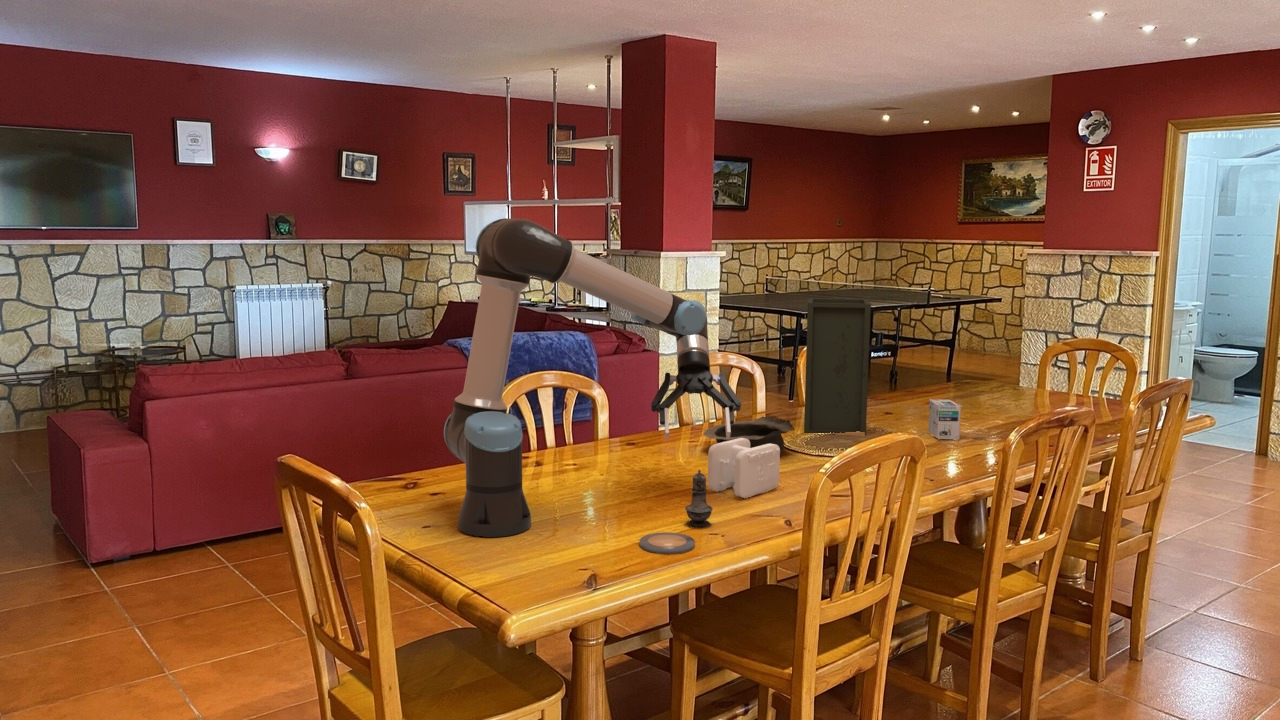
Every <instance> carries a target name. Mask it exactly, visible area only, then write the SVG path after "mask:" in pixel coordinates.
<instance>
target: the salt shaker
mask: <svg viewBox="0 0 1280 720" xmlns="http://www.w3.org/2000/svg"><path fill="white" fill-rule="evenodd" d="M708 491H709V490H708V489H707V476H706V475H705V474H704V473H702V470H700V469H698V471H697V473H695V474H694V475H693V476H692V488H691V489H690V492H691V502H690V504H689V505H686V506H685V507H684V509H685V510H686V515H687V517H688V518H689V519H690V520H688V521H687V522H686V523H685V524H686V526H687V527H689V528H692V529H706V528H710V527H711V526H712V523H711V522H710V521H708V519H709V518H710V517H711V515H712V511H713V510H714V508H713V507H712V506H711V505H708V502H707V493H708ZM709 526H710V527H709Z"/></svg>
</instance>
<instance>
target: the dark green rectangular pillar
mask: <svg viewBox="0 0 1280 720" xmlns="http://www.w3.org/2000/svg"><path fill="white" fill-rule="evenodd" d="M871 310H872V304H871V302H870V301H869V299H856V298H855V299H852V298H850V299H849V298H848V299H847V298H845V299H844V298H808V299H807V318H806V319H807V320H806V348H805V350H806V352H805V353H806V354H805V355H806V357H805V358H806V359H805V381H804V382H805V387H804V414H803V415H804V418H803V419H804V420H803V421H804V422H803V434H804V433H830V432H831V433H833V432H834V433H840V432H841V433H845V432H856V431H860V432H866V433H867V415H868V414H867V412H868V390H869V389H868V387H869V368H870V367H869V361H870V335H871V313H872V312H871Z"/></svg>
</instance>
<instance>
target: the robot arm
mask: <svg viewBox="0 0 1280 720" xmlns="http://www.w3.org/2000/svg"><path fill="white" fill-rule="evenodd" d="M475 252H476V257H477V259H478V263H477V268H476V275H475V277H476V278H477V279H478V281H479V282H480V285H481V287H480V293H479V297H478V298H479V300H478V304H477V309H476V311H477V312H476V315H475V322H474V327H473V332H472V339H471V344H470V350H469V356H468V362H467V366H466V374H465V381H464V384H463V385H464V386H463V391H462V393H460V394H459V395H458V396H456V397H455V398H454V401H453V408H452V412H451V413H450V414H449V415H448V417H446V418H447V419H446V421H445V423H444V426H443V427H444V428H443V438H444V442H445V445H446V446H447V448H448V449H449V451H450V453H452V455H453V456H454V457H455V458H456V459H458V460H460V461H462V462H463V463H464V464H465V487H466V488H465V495H464V497H463V501H462V504H461V507H460V510H459V514H458V519H457V522H458V524H457V526H458V531H460V532H461V531H462V532H461V533H463V532H464V533H463V534H465V533H466V534H465V535H468V534H469V536H472V535H474V536H473V537H479V536H483V537H482V538H498V537H499V538H500V537H507V536H509V537H510V536H514V535H518V534H521V533H523V532H526V531H527V530H529V529H530V528H531V527H532V514H531V511H530V508H529V504H528V502H527V498H526V496H525V493H524V490H523V439H524V435H523V429H522V423H521V421H520V419H519V418H518V417H517V416H515V415H514V414H512V413H508V406H507V404H506V402H504V400H503V396H504V388H505V385H506V384H505V383H506V376H507V372H508V367H509V362H510V355H511V351H512V350H511V349H512V344H513V343H512V342H513V337H514V333H515V332H514V331H515V326H516V321H517V314H518V309H519V305H520V304H519V303H520V297H521V293H522V291H523V290H525V289H526V288H528V287H529V286H530V280H531V277H534V278H537V279H541V280H543V281H547V282H549V283H551V284H556V283H559V282H560V283H563V284H565V285H567V286H570V287H571V288H574V289H576V290H579V291H580V292H584V293H586V294H588V295H589V296H593V297H595V298H597V299H599V300H601V301H604V302H606V303H608V304H611V305H612V306H615V307H618V308H620V309H622V310H624V311H627V312H629V313H630V316H631V318H632V319H633V320H634V321H636V322H638V323H640V324H641V325H645V326H648V327H650V328H653V329H655V330H658V331H660V332H663V333H666V334H668V335H670V336H672V337H675V341H676V357H677V374H676V375H675V374H674V375H672V374H671V373H670V372H665V374H664V379H663V382H662V384H661V386H660V387H659V389H658V390H657V392H656V394H655V396H654V398H653V399H652V401H651V404H650V405H651V406H650V410H651V412H657V413H658V415H659V424H660V426H662V425H664V439H665V440H669V439H670V438H669V436H670V427H669V426H670V425H669V424H670V423H669V408H671V406H672V405H674V403H676V401H678V399H679V398H681V397H682V396H683V395H684V394H685V393H687V394H689V395H690V394H691V395H692V394H698V395H702V394H703V393H704V394H705V395H707V396H708V397H710V398H711V399H712V400H713V401H714V402H716V404H718V405H719V406H720V407H721V408H722V409H723V410H724V424H725V427H726V439H730V434H731V429H730V424H734V422H735V412H740V411H741V407H742V401H741V400H740V399H739V397H738V395H737V394H736V393H735V391H734V390H733V388H732V387H731V385H730V384H729V383H728V381H727V380H726V376H725V373H724V372H723V371H721V372H719V374H712V372H711V365H710V363H711V361H710V348H709V337H708V336H709V335H708V331H709V330H708V317H707V313H706V312H707V311H706V308H705V306H704V305H703V303H702V302H700V301H697V300H690V299H688V300H687V299H685V298H682V297H680V296H678V295H677V294H673V293H671V292H669V291H667V290H665V289H662V288H661V287H658V286H656V285H654V284H652V283H650V282H647V281H645V280H644V279H641V278H639V277H636V276H635V275H632V274H631V273H628V272H626V271H624V270H622V269H620V268H618V267H616V266H613V265H611V264H609V263H606V262H604V261H603V260H600V259H598V258H596V257H593V256H592V255H590V254H587V253H585V252H583V251H582V250H579V249H578V248H577V249H576V248H575V246H574V243H573V241H571V240H569V239H567V238H564V237H563V236H562V235H561V236H560V235H559V234H557V233H555V232H554V231H551V230H549V229H548V228H546V227H544V226H543V225H541V224H540V223H537V222H534V221H533V220H530V219H526V218H506V217H505V218H499V219H496V220H493V221H491V222H490V223H488V224H486V225H485V226H484V227H483V228H482V229H481V230H480V231H479V234H478V236H477V238H476V242H475ZM674 382H676V383H677V384H678V385H677V386H676V387H675V388H674V390H673V391H672V392H671V393H669V395H668V396H666V397H665V395H666V394H667V392H668V390H669V389H670V386H672V385H673V384H674ZM713 382H715V383H716V385H718V386H719V387H720V389H721V391H722V393H721V392H720V391H719V390H718V389H717V388H716V387H715V386H714V384H713ZM723 394H724V395H723ZM663 399H664V400H663Z"/></svg>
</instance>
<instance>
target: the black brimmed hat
mask: <svg viewBox="0 0 1280 720" xmlns="http://www.w3.org/2000/svg"><path fill="white" fill-rule="evenodd" d="M730 429H731V434H730V439H726V427H725V423H723V424H717V425H713V426H710V427H708V428H706V429H705V430H704V432H703V436H705V437H706V438H709V439H710V440H715V441H716V444H717V443H721V442H726V441H730V440H734V439H738V438H745V439H748V440H749V441H750V448H753V447H757V446H761V445H765V444H769V443H770V444H775V445H778V446H779V448H780V454H782V453H783V452H784V449H785V442H784V437H783V436H782V434H787V433H788V432H791V431H795V430H796V429H795V427H794V426H793V424H792V422H791V421H790V419H782V418H778V417H776V416H760V417H759V418H754V419H753V420H741V421H740V420H739V421H734V424H730Z"/></svg>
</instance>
